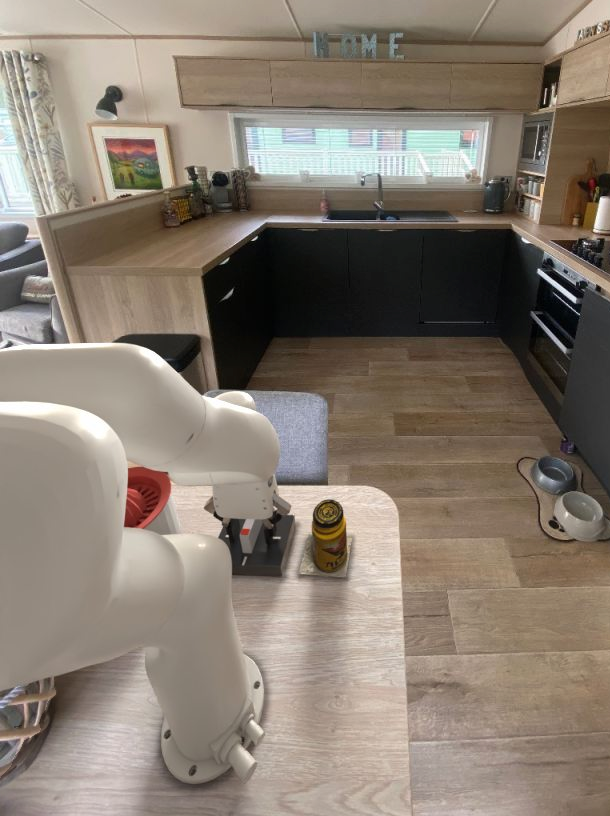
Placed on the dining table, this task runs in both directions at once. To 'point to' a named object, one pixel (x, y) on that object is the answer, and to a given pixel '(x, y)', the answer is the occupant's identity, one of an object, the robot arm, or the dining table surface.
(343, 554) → the condiment
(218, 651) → the robot arm
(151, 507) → the citrus juicer
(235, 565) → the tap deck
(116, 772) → the dining table surface
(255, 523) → the tap handle
